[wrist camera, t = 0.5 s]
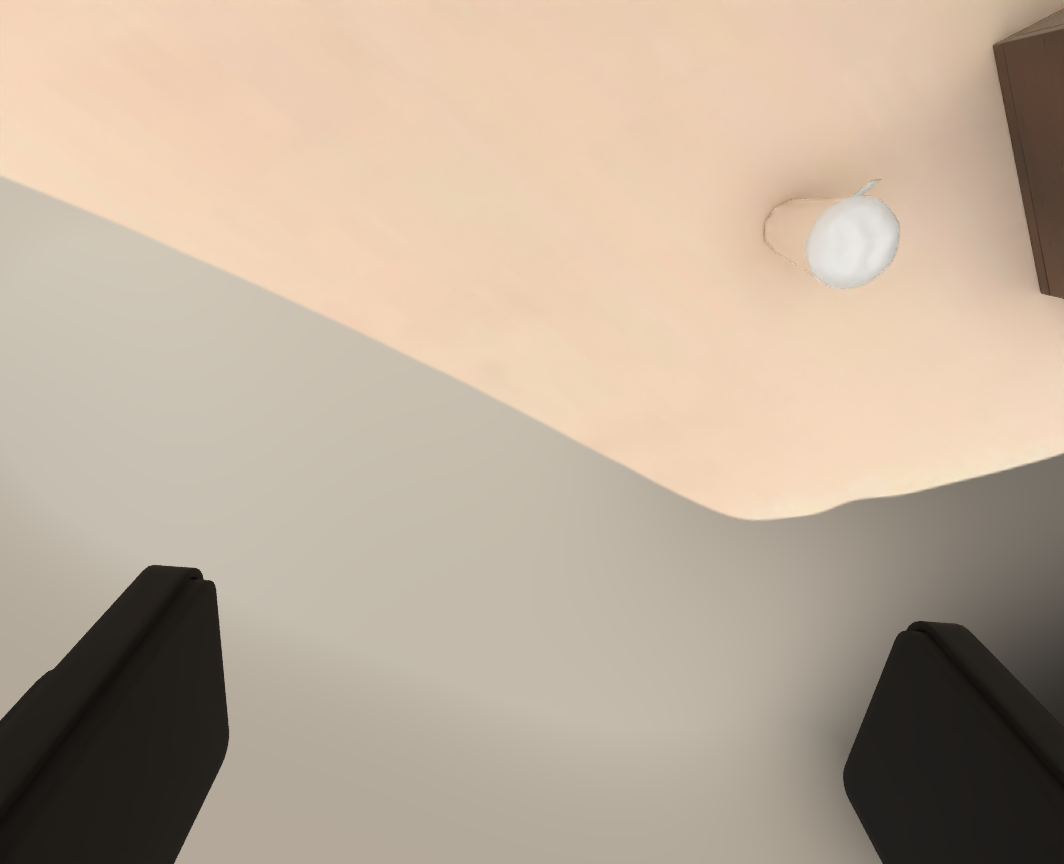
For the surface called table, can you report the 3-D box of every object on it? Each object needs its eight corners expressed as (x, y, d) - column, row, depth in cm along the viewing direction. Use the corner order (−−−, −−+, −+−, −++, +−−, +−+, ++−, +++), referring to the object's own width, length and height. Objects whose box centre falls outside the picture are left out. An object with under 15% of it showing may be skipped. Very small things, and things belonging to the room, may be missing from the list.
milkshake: (828, 168, 39) (927, 172, 30) (825, 259, 41) (915, 289, 32) (752, 179, 39) (826, 186, 30) (752, 270, 41) (822, 302, 32)
